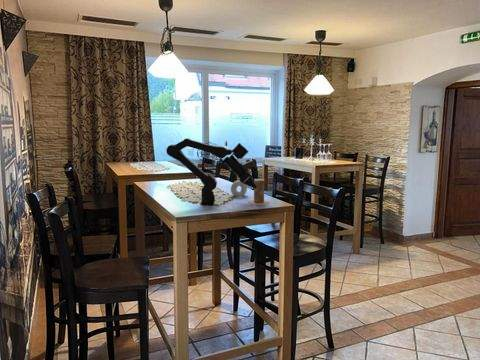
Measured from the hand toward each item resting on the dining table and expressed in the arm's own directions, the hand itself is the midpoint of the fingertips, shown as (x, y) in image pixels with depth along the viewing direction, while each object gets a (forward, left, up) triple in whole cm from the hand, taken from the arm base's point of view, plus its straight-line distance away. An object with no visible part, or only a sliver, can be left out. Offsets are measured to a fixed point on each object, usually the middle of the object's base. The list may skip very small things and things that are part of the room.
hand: (255, 186), depth 202 cm
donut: (-7, +19, -10) cm, 22 cm away
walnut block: (+2, 0, -8) cm, 9 cm away
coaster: (+2, 0, -9) cm, 10 cm away
